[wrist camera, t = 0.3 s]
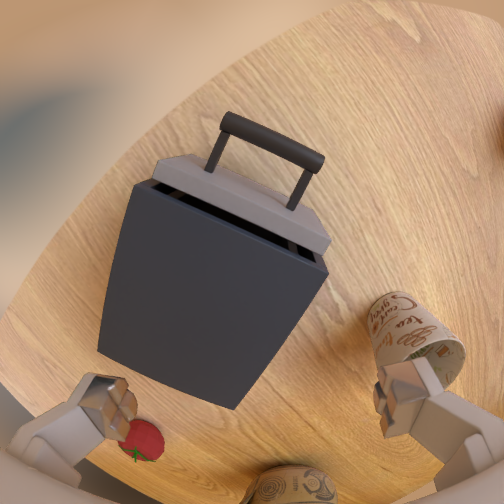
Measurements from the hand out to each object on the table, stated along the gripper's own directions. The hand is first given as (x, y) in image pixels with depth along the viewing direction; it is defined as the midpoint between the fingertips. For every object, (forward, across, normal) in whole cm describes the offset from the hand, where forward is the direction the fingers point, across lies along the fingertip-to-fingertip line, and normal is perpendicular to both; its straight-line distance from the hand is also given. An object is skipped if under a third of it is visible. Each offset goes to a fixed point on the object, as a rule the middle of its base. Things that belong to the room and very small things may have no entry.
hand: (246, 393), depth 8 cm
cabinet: (+19, +5, +4) cm, 20 cm away
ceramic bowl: (+19, 0, +48) cm, 51 cm away
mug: (+19, -14, +14) cm, 27 cm away
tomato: (+19, +22, +32) cm, 43 cm away
